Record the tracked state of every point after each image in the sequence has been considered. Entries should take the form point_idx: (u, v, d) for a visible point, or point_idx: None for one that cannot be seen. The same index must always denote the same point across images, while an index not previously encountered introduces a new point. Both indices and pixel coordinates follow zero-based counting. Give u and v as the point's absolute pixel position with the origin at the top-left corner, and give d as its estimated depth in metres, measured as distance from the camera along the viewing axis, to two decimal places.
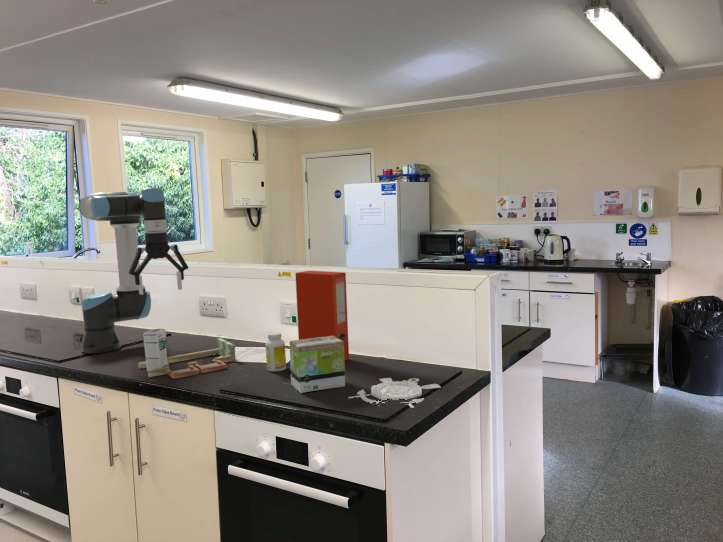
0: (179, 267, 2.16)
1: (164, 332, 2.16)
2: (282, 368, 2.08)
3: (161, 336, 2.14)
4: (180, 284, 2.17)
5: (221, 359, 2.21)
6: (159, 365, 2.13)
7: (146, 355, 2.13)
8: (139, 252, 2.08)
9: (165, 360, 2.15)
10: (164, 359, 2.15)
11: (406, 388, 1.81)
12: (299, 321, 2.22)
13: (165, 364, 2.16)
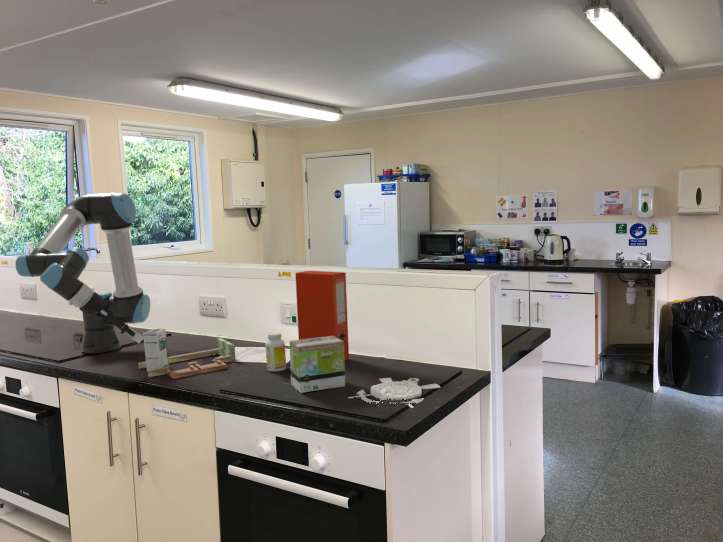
0: None
1: (164, 332, 2.16)
2: (282, 368, 2.08)
3: (161, 336, 2.14)
4: None
5: (221, 359, 2.21)
6: (159, 365, 2.13)
7: (146, 355, 2.13)
8: None
9: (165, 360, 2.15)
10: (164, 359, 2.15)
11: (406, 388, 1.81)
12: (299, 321, 2.22)
13: (165, 364, 2.16)
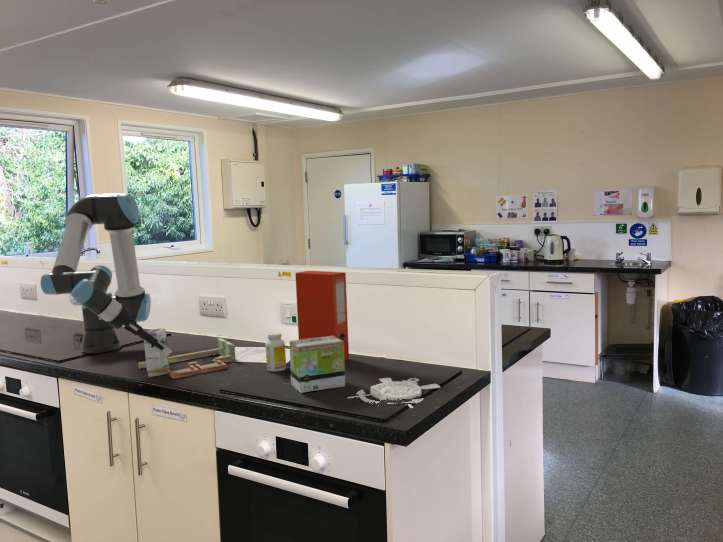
0: None
1: (164, 332, 2.16)
2: (282, 368, 2.08)
3: (162, 336, 2.14)
4: None
5: (221, 359, 2.21)
6: (159, 365, 2.13)
7: (146, 355, 2.13)
8: None
9: (165, 360, 2.15)
10: (164, 359, 2.15)
11: (405, 388, 1.81)
12: (299, 321, 2.22)
13: (165, 364, 2.16)
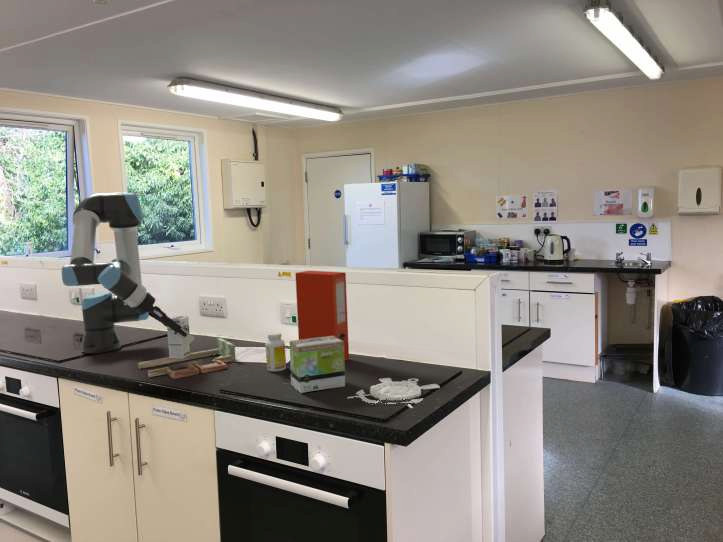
0: (172, 329, 2.12)
1: (187, 319, 2.19)
2: (282, 368, 2.08)
3: (184, 324, 2.17)
4: None
5: (221, 359, 2.21)
6: (181, 352, 2.16)
7: (169, 341, 2.16)
8: (149, 313, 2.18)
9: (187, 347, 2.18)
10: (186, 345, 2.18)
11: (405, 388, 1.81)
12: (299, 321, 2.22)
13: (187, 351, 2.19)
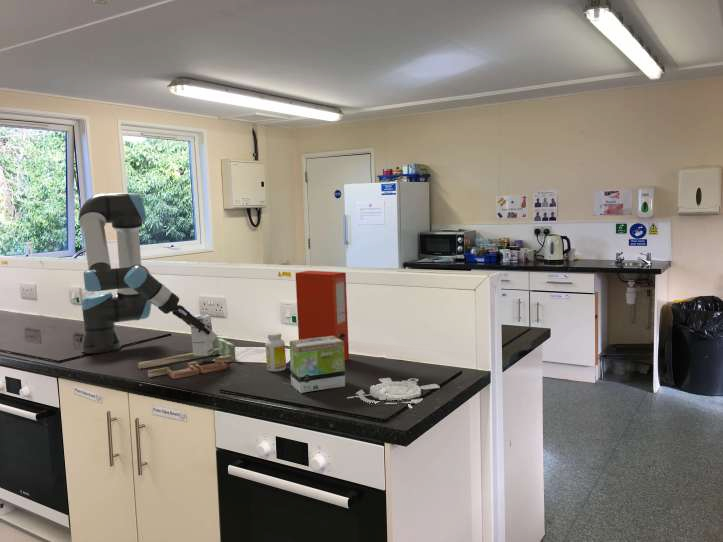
0: (196, 327, 2.18)
1: (209, 317, 2.25)
2: (282, 368, 2.08)
3: (207, 322, 2.23)
4: None
5: (221, 359, 2.21)
6: (205, 349, 2.21)
7: (193, 339, 2.22)
8: (173, 312, 2.24)
9: (210, 345, 2.24)
10: (209, 343, 2.24)
11: (405, 388, 1.81)
12: (299, 321, 2.22)
13: (210, 348, 2.24)
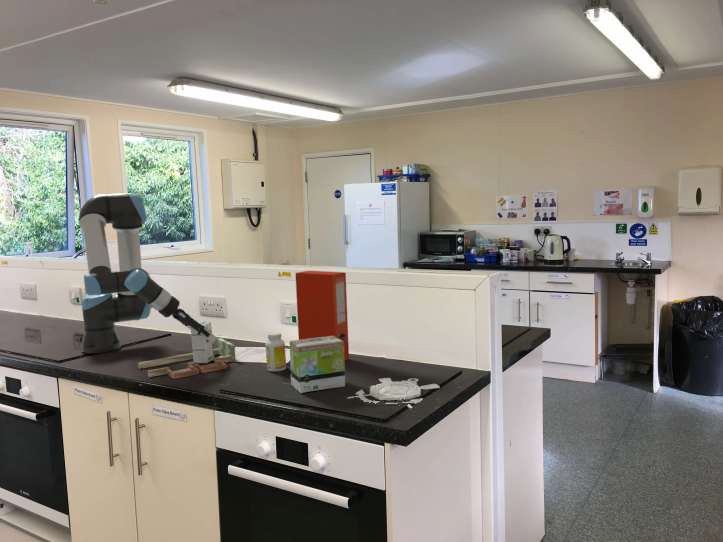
0: (196, 330, 2.16)
1: (210, 325, 2.25)
2: (282, 368, 2.08)
3: (208, 329, 2.23)
4: None
5: (221, 359, 2.21)
6: (205, 356, 2.22)
7: (193, 347, 2.22)
8: None
9: (210, 352, 2.25)
10: (210, 350, 2.24)
11: (405, 388, 1.81)
12: (299, 321, 2.22)
13: (211, 355, 2.25)
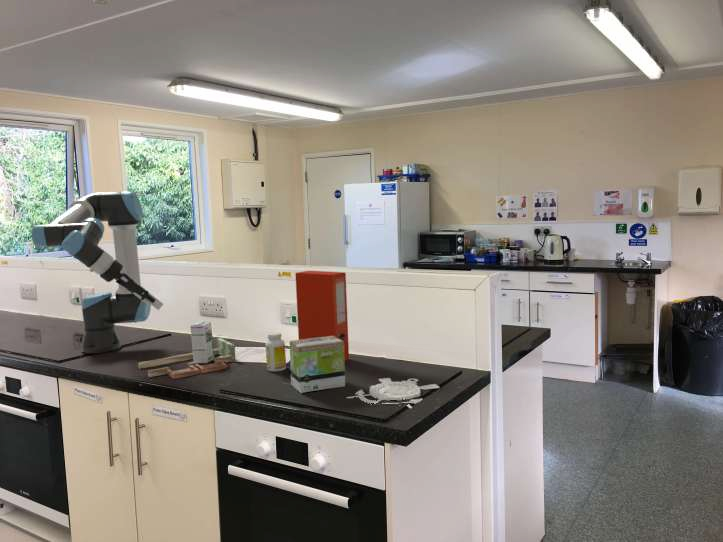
0: (140, 295, 2.04)
1: (210, 325, 2.25)
2: (282, 368, 2.08)
3: (208, 329, 2.23)
4: None
5: (221, 359, 2.21)
6: (205, 356, 2.22)
7: (193, 347, 2.22)
8: (115, 279, 2.11)
9: (210, 352, 2.25)
10: (210, 350, 2.24)
11: (405, 388, 1.81)
12: (299, 321, 2.22)
13: (211, 355, 2.25)
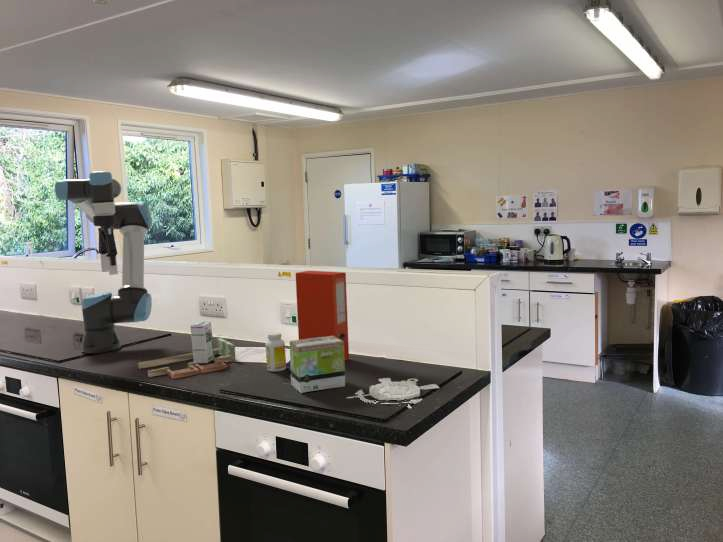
0: (108, 252, 2.13)
1: (210, 325, 2.25)
2: (282, 368, 2.08)
3: (208, 329, 2.23)
4: (109, 269, 2.14)
5: (221, 359, 2.21)
6: (205, 356, 2.22)
7: (193, 347, 2.22)
8: None
9: (210, 352, 2.25)
10: (210, 350, 2.24)
11: (404, 388, 1.81)
12: (299, 321, 2.22)
13: (211, 355, 2.25)
